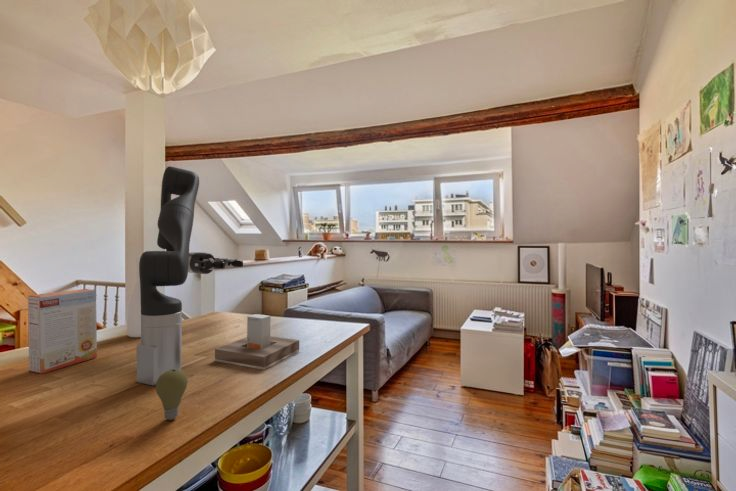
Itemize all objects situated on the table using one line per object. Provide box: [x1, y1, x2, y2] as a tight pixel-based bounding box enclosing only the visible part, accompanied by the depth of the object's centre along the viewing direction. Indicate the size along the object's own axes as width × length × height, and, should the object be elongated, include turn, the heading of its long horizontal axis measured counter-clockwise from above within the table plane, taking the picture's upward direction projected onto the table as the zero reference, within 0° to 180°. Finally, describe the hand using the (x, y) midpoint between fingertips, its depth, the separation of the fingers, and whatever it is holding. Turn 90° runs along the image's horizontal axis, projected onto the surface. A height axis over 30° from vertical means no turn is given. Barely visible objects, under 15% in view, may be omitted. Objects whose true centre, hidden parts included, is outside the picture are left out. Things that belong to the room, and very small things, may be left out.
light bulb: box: [155, 369, 188, 421], centre depth 69 cm, size 6×6×10 cm
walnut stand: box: [214, 335, 300, 371], centre depth 108 cm, size 18×18×4 cm
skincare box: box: [246, 313, 272, 349], centre depth 108 cm, size 6×4×12 cm
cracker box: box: [27, 288, 98, 375], centre depth 99 cm, size 14×6×21 cm, turn 160°
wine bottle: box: [126, 255, 141, 338], centre depth 130 cm, size 10×10×30 cm
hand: (233, 264), depth 117 cm, fingers open, 8 cm apart
